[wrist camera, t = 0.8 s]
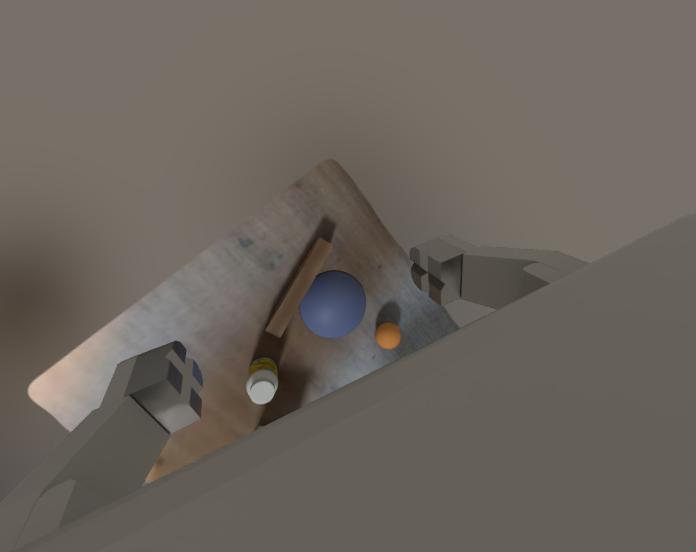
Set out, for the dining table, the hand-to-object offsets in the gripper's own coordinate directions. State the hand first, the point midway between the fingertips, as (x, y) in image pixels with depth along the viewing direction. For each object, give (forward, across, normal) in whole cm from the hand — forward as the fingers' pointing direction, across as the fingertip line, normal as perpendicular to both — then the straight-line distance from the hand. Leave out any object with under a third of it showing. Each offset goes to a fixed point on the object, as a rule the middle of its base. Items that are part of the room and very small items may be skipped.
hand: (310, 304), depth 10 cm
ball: (+31, +16, -38) cm, 52 cm away
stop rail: (+41, +3, -24) cm, 47 cm away
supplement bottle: (+36, -10, -36) cm, 52 cm away
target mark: (+38, +8, -30) cm, 49 cm away
